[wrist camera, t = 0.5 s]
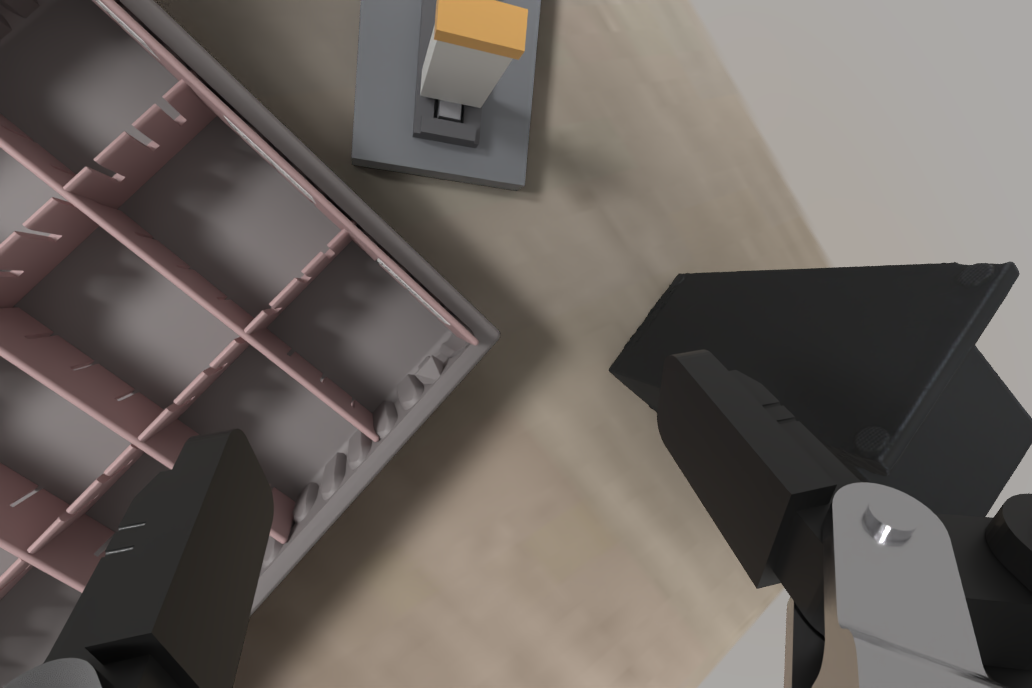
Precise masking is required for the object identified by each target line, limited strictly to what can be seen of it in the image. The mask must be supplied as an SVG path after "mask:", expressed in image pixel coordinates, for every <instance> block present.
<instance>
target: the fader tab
mask: <svg viewBox="0 0 1032 688" xmlns="http://www.w3.org/2000/svg"><path fill="white" fill-rule="evenodd" d="M527 17H528V9H525V8H522V7H518V6H514V5H511V4H507V3H503V2H500V1H496V0H437V1H436V15H435V24H434V28H433V32H432V35H431V39H430V43H429V46H428V50H427V53H426V57H425V61H424V64H423V68H422V77H421V91H420V96H424V97H429V98H434V99H438V108H437V118H438V119H443V120H448V121H453V122H458V123H459V121H460V116H461V104H463V105H468V106H473V107H478V108H481V107H482V105H483V104H484V102H485V101H486V99H487V97H488V96H489V94H490V93H491V91H492V90H493V88H494V87H495V85H496V84H497V82H498V81H499V79H500V78H501V76H502V75H503V73H504V72H505V70H506V68H507V67H508V65H509V64H510V62H511V61H512V59H517V60H519V59H520V57H521V56H522V54H523V53H524V51H525V41H526V29H527Z"/></svg>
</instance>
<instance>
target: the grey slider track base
mask: <svg viewBox="0 0 1032 688" xmlns="http://www.w3.org/2000/svg"><path fill="white" fill-rule="evenodd" d="M436 1H437V0H361V7H360V24H359V40H358V57H357V74H356V91H355V107H354V124H353V141H352V165H357V166H363V167H369V168H376V169H382V170H388V171H395V172H401V173H407V174H414V175H420V176H426V177H433V178H439V179H445V180H452V181H458V182H464V183H471V184H477V185H483V186H489V187H496V188H502V189H508V190H515V191H517V190H519V189H520V188H522V187H523V186H525V177H526V165H527V154H528V142H529V131H530V119H531V108H532V96H533V85H534V74H535V62H536V51H537V39H538V28H539V16H540V5H541V0H496V1H500V2H503V3H507V4H511V5H514V6H518V7H522V8H525V9H528V17H527V29H526V41H525V51H524V53H523V54H522V56H521V57H520V59H519V60H517V59H512V61H511V62H510V64H509V65H508V67H507V68H506V70H505V72H504V73H503V75H502V76H501V78H500V79H499V81H498V82H497V84H496V85H495V87H494V88H493V90H492V91H491V93H490V94H489V96H488V97H487V99H486V101H485V102H484V104H483V105H482V107H481V108H478V107H473V106H468V105H463V104H461V116H460V121H459V123H458V122H453V121H448V120H443V119H438V118H437V108H438V99H434V98H429V97H424V96H420V91H421V77H422V68H423V64H424V61H425V57H426V53H427V50H428V46H429V43H430V39H431V35H432V32H433V28H434V24H435V15H436Z"/></svg>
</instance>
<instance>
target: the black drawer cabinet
mask: <svg viewBox="0 0 1032 688" xmlns="http://www.w3.org/2000/svg"><path fill="white" fill-rule="evenodd" d="M1018 276H1019V271H1018V269H1017V267H1016V265H1015V264H1014V263H1013V262H1007V263H1004V264H988V263H978V264H974V265H962V264H958V263H956V262H954V263H941V264H918V265H917V264H916V265H914V264H913V265H886V266H865V267H839V268H814V269H788V270H759V271H737V272H712V273H693V274H690V273H686V274H678V276H677V277H676V278H675V279H674V281H673V282H672V284H671V285H669V288H668V289H667V290H666V292H665V293H664V294H663V295H662V296H661V299H659V300H658V302H657V303H656V305H655V306H654V307H653V308H652V309H651V311H650V313H649V314H648V316H647V317H646V319H645V320H644V322H643V323H642V324H641V326H640V327H639V328H638V329H637V332H636V333H635V334H634V335H633V336H632V337H631V338H630V341H629V342H628V343H627V344H626V345H625V347H624V349H623V351H622V352H621V353H620V355H619V356H618V357H617V359H616V360H615V362H614V363H613V364H612V366H611V367H610V368H609V371H610V372H611V373H612V374H613V375H614V376H615V377H616V378H617V379H619V380H620V381H621V382H622V383H623V384H624V385H626V386H627V387H628V388H629V389H630V390H632V391H633V392H634V393H635V394H636V395H637V396H639V397H640V398H641V399H642V400H643V401H645V402H646V403H647V404H648V405H649V407H650V408H651V409H653V410H655V411H656V412H657V411H658V403H659V396H660V388H661V380H662V372H663V365H664V361H665V359H666V357H667V356H669V355H674V354H680V353H686V352H692V351H698V350H708V351H710V352H711V353H712V354H713V355H714V356H715V357H716V358H717V359H718V360H719V361H720V362H721V364H722V365H723V366H724V367H725V368H726V369H727V370H728V371H731V370H737V371H739V372H741V373H743V374H745V375H747V376H748V377H750V378H752V379H754V380H756V381H758V382H759V383H761V384H762V385H763V386H764V387H765V388H766V389H767V390H768V391H769V392H770V393H771V394H772V395H773V396H774V397H775V398H776V399H777V400H779V401H780V405H781V406H783V405H784V406H785V407H786V408H787V409H788V410H789V411H790V412H791V413H792V414H793V415H794V416H795V420H796V421H800V422H801V423H802V424H803V425H804V426H805V427H806V428H807V429H808V430H809V431H810V432H811V433H812V434H813V435H814V436H815V437H816V438H817V439H818V440H819V441H820V442H821V443H822V444H823V445H824V446H825V447H826V448H827V449H828V450H829V451H830V452H831V453H832V454H833V455H834V456H835V457H836V458H837V459H838V460H839V461H840V462H841V463H842V464H843V465H844V466H845V467H846V468H847V469H849V470H850V471H851V472H852V473H853V474H854V475H855V476H856V477H857V478H858V479H859V480H860V481H861V482H867V483H876V484H880V485H885V486H888V487H891V488H894V489H897V490H899V491H901V492H904V493H906V494H908V495H909V496H911V497H913V498H915V499H916V500H918V501H919V502H921V503H922V504H924V505H925V506H926V507H928V508H929V509H930V510H931V511H932V512H933V513H936V514H950V515H963V516H976V517H985V516H986V515H987V513H988V512H989V510H990V509H991V507H992V505H993V504H994V502H995V501H996V499H997V498H998V496H999V494H1000V492H1001V491H1002V490H1003V488H1004V486H1005V485H1006V483H1007V482H1008V480H1009V479H1010V477H1011V476H1012V474H1013V472H1014V471H1015V470H1016V468H1017V466H1018V465H1019V463H1020V462H1021V460H1022V458H1023V457H1024V455H1025V453H1026V452H1027V450H1028V449H1029V447H1030V445H1031V444H1032V418H1031V417H1030V416H1029V414H1028V413H1027V412H1026V411H1025V409H1024V408H1023V407H1022V406H1021V404H1020V403H1019V402H1018V400H1017V399H1016V398H1015V397H1014V395H1013V394H1012V393H1011V391H1010V390H1009V389H1008V387H1007V386H1006V385H1005V384H1004V382H1003V381H1002V380H1001V379H1000V377H999V376H998V374H997V373H996V372H995V371H994V370H993V368H992V367H991V365H990V364H989V363H988V362H987V360H986V359H985V358H984V356H983V355H982V354H981V352H980V351H979V350H978V349H977V347H976V346H975V343H976V342H977V341H978V339H979V337H980V336H981V334H982V333H983V331H984V330H985V328H986V327H987V325H988V324H989V322H990V321H991V319H992V317H993V316H994V314H995V313H996V311H997V310H998V308H999V306H1000V305H1001V304H1002V302H1003V301H1004V299H1005V297H1006V296H1007V294H1008V292H1009V291H1010V289H1011V287H1012V285H1013V284H1014V282H1015V281H1016V279H1017V278H1018Z"/></svg>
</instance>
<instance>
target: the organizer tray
mask: <svg viewBox="0 0 1032 688" xmlns="http://www.w3.org/2000/svg"><path fill="white" fill-rule="evenodd" d="M499 338H500V331H499V330H498V329H497V328H496V327H495V326H494V325H493V324H492V323H491V322H490V321H488V320H487V319H486V318H485V317H484V316H483V315H482V314H481V313H480V312H479V311H478V310H477V309H476V308H475V307H474V306H473V305H472V304H471V303H470V302H469V301H468V300H467V299H465V298H464V297H463V296H462V295H461V294H460V293H459V292H458V291H457V290H456V289H455V288H454V287H453V286H452V285H451V284H450V283H449V282H448V281H447V280H446V279H445V278H444V277H442V276H441V275H440V274H439V273H438V272H437V271H436V270H435V269H434V268H433V267H432V266H431V265H430V264H429V263H428V262H427V261H426V260H425V259H424V258H423V257H422V256H420V255H419V254H418V253H417V252H416V251H415V250H414V249H413V248H412V247H411V246H410V245H409V244H408V243H407V242H406V241H405V240H404V239H403V238H402V237H401V236H400V235H399V234H397V233H396V232H395V231H394V230H393V229H392V228H391V227H390V226H389V225H388V224H387V223H386V222H385V221H384V220H383V219H382V218H381V217H380V216H379V215H378V214H377V213H376V212H374V211H373V210H372V209H371V208H370V207H369V206H368V205H367V204H366V203H365V202H364V201H363V200H362V199H361V198H360V197H359V196H358V195H357V194H356V193H355V192H354V191H353V190H351V189H350V188H349V187H348V186H347V185H346V184H345V183H344V182H343V181H342V180H341V179H340V178H339V177H338V176H337V175H336V174H335V173H334V172H333V171H332V170H331V169H329V168H328V167H327V166H326V165H325V164H324V163H323V162H322V161H321V160H320V159H319V158H318V157H317V156H316V155H315V154H314V153H313V152H312V151H311V150H310V149H309V148H308V147H306V146H305V145H304V144H303V143H302V142H301V141H300V140H299V139H298V138H297V137H296V136H295V135H294V134H293V133H292V132H291V131H290V130H289V129H288V128H287V127H286V126H285V125H283V124H282V123H281V122H280V121H279V120H278V119H277V118H276V117H275V116H274V115H273V114H272V113H271V112H270V111H269V110H268V109H267V108H266V107H265V106H264V105H263V104H262V103H260V102H259V101H258V100H257V99H256V98H255V97H254V96H253V95H252V94H251V93H250V92H249V91H248V90H247V89H246V88H245V87H244V86H243V85H242V84H241V83H240V82H238V81H237V80H236V79H235V78H234V77H233V76H232V75H231V74H230V73H229V72H228V71H227V70H226V69H225V68H224V67H223V66H222V65H221V64H220V63H219V62H218V61H217V60H215V59H214V58H213V57H212V56H211V55H210V54H209V53H208V52H207V51H206V50H205V49H204V48H203V47H202V46H201V45H200V44H199V43H198V42H197V41H196V40H195V39H194V38H192V37H191V36H190V35H189V34H188V33H187V32H186V31H185V30H184V29H183V28H182V27H181V26H180V25H179V24H178V23H177V22H176V21H175V20H174V19H173V18H172V17H171V16H169V15H168V14H167V13H166V12H165V11H164V10H163V9H162V8H161V7H160V6H159V5H158V4H157V3H156V2H155V1H154V0H0V688H2V687H3V686H5V685H6V684H7V683H9V682H10V681H12V680H13V679H15V678H16V677H18V676H20V675H21V674H23V673H24V672H26V671H28V670H30V669H32V668H34V667H36V666H39V665H41V664H43V663H44V661H45V660H46V658H47V656H48V655H49V653H50V651H51V649H52V647H53V646H54V644H55V642H56V640H57V638H58V636H59V634H60V633H61V631H62V629H63V627H64V625H65V623H66V622H67V620H68V618H69V616H70V614H71V612H72V611H73V609H74V607H75V605H76V603H77V601H78V600H79V598H80V596H81V594H82V592H83V590H84V588H85V587H86V585H87V583H88V581H89V579H90V577H91V576H92V574H93V572H94V570H95V568H96V566H97V565H98V563H99V561H100V559H101V557H105V555H106V553H105V550H106V548H107V546H108V544H109V542H110V541H111V539H112V537H113V535H114V533H115V532H118V531H119V528H118V526H119V524H120V522H121V520H122V519H123V517H124V515H125V513H126V511H127V509H128V508H129V506H130V504H131V502H132V500H133V498H134V497H135V496H136V495H137V494H138V493H139V492H140V491H141V490H142V489H143V488H144V487H145V486H146V485H147V484H148V483H149V482H150V481H151V480H152V479H153V478H154V477H155V476H156V475H157V474H158V473H159V472H161V471H167V470H172V468H173V466H174V464H175V462H176V460H177V458H178V456H179V454H180V452H181V450H182V448H183V446H184V444H185V442H186V441H187V440H188V438H190V437H191V436H196V435H202V434H207V433H213V432H219V431H225V430H231V429H240V430H242V431H243V432H244V434H245V435H246V437H247V439H248V441H249V443H250V445H251V447H252V449H253V451H254V453H255V456H256V458H257V460H258V462H259V464H260V466H261V468H262V470H263V472H264V474H265V476H266V478H267V480H268V483H269V485H270V487H271V490H272V494H273V501H274V516H273V522H272V526H271V530H270V535H269V539H268V543H267V547H266V551H265V555H264V559H263V564H262V568H261V572H260V576H259V580H258V584H257V589H256V593H255V597H254V601H253V605H252V609H251V613H250V616H251V615H252V614H253V613H254V612H255V610H256V609H257V608H258V607H259V606H260V605H261V604H262V603H263V601H264V600H265V599H266V598H267V597H268V596H269V595H270V594H271V593H272V591H273V590H274V589H275V588H276V587H277V586H278V585H279V584H280V583H281V581H282V580H283V579H284V578H285V577H286V576H287V575H288V574H289V573H290V571H291V570H292V569H293V568H294V567H295V566H296V565H297V564H298V562H299V561H300V560H301V559H302V558H303V557H304V556H305V555H306V554H307V552H308V551H309V550H310V549H311V548H312V547H313V546H314V545H315V544H316V542H317V541H318V540H319V539H320V538H321V537H322V536H323V535H324V534H325V532H326V531H327V530H328V529H329V528H330V527H331V526H332V525H333V524H334V522H335V521H336V520H337V519H338V518H339V517H340V516H341V515H342V513H343V512H344V511H345V510H346V509H347V508H348V507H349V506H350V505H351V503H352V502H353V501H354V500H355V499H356V498H357V497H358V496H359V495H360V493H361V492H362V491H363V490H364V489H365V488H366V487H367V486H368V485H369V483H370V482H371V481H372V480H373V479H374V478H375V477H376V476H377V474H378V473H379V472H380V471H381V470H382V469H383V468H384V467H385V466H386V464H387V463H388V462H389V461H390V460H391V459H392V458H393V457H394V456H395V454H396V453H397V452H398V451H399V450H400V449H401V448H402V447H403V446H404V444H405V443H406V442H407V441H408V440H409V439H410V438H411V437H412V435H413V434H414V433H415V432H416V431H417V430H418V429H419V428H420V427H421V425H422V424H423V423H424V422H425V421H426V420H427V419H428V418H429V417H430V415H431V414H432V413H433V412H434V411H435V410H436V409H437V408H438V407H439V405H440V404H441V403H442V402H443V401H444V400H445V399H446V398H447V397H448V395H449V394H450V393H451V392H452V391H453V390H454V389H455V388H456V386H457V385H458V384H459V383H460V382H461V381H462V380H463V379H464V378H465V376H466V375H467V374H468V373H469V372H470V371H471V370H472V369H473V368H474V366H475V365H476V364H477V363H478V362H479V361H480V360H481V359H482V358H483V356H484V355H485V354H486V353H487V352H488V351H489V350H490V349H491V347H492V346H493V345H494V344H495V343H496V342H497V341H498V340H499Z"/></svg>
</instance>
